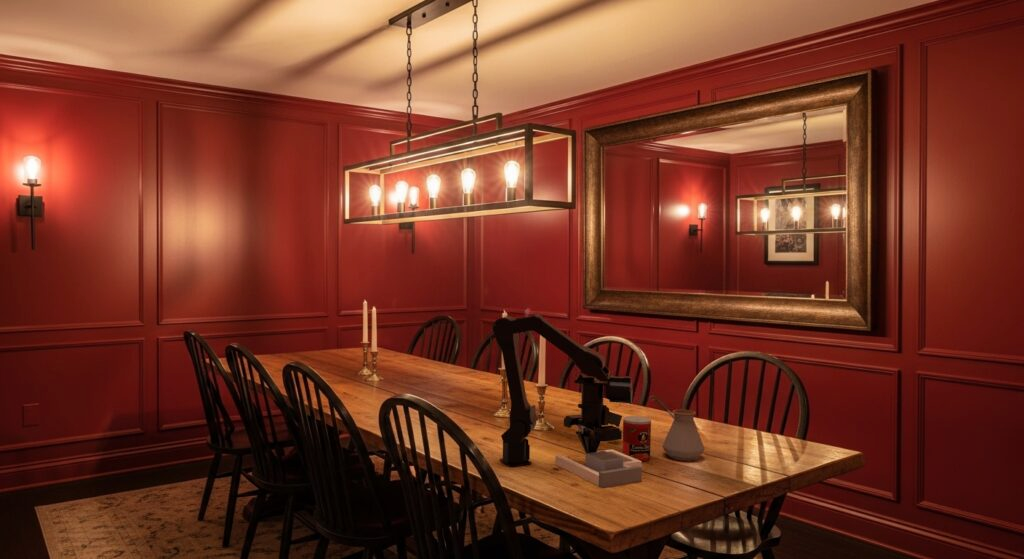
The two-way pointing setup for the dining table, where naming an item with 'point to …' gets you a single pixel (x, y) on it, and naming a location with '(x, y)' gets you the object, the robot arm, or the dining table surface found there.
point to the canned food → (637, 437)
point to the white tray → (605, 478)
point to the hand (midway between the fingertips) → (591, 459)
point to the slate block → (603, 461)
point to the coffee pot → (682, 435)
